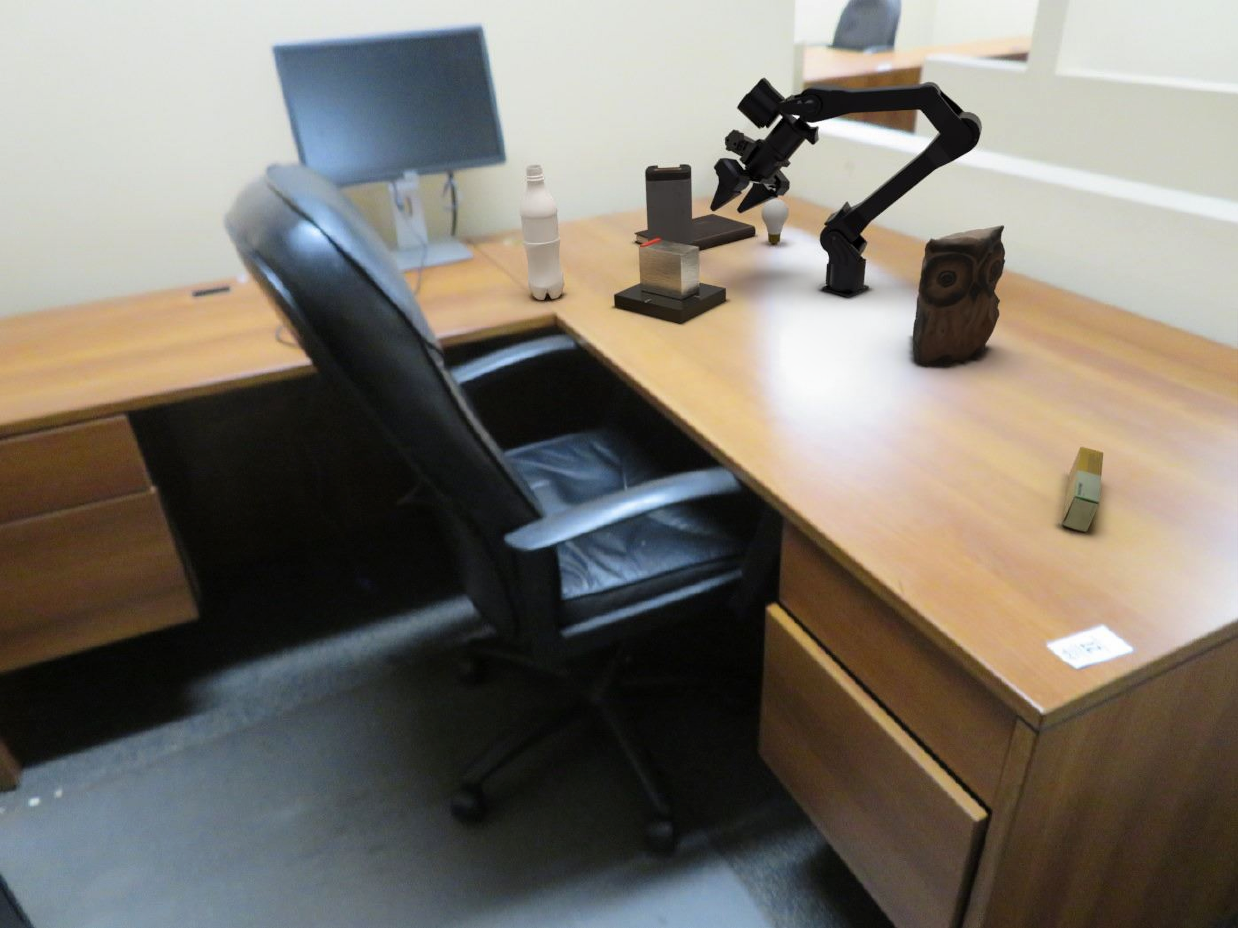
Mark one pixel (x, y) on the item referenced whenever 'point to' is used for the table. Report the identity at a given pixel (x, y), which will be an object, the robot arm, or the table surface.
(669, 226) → the electronic device
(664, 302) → the dial plate
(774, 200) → the light bulb
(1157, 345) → the table surface
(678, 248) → the brushed aluminum block
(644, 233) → the hardcover book
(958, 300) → the owl
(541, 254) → the water bottle
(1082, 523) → the medication box
